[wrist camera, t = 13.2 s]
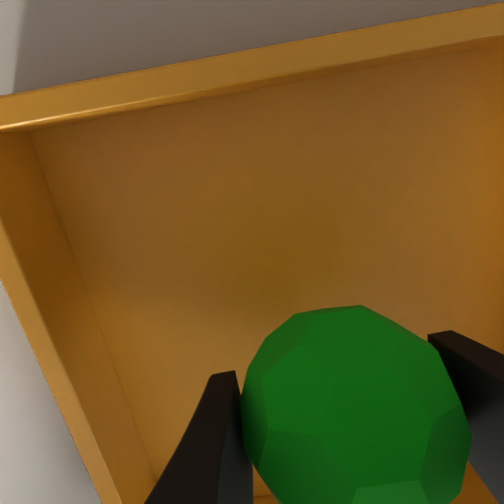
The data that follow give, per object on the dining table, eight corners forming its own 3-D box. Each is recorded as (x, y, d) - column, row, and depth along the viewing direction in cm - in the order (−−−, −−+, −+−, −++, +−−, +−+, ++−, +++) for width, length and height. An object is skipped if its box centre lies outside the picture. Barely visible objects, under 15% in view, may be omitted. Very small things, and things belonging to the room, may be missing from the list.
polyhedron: (336, 238, 10) (430, 341, 5) (435, 349, 11) (575, 505, 7) (202, 352, 11) (184, 521, 6) (309, 442, 12) (358, 632, 8)
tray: (552, 10, 10) (678, -32, 7) (511, 448, 16) (573, 520, 13) (7, 112, 10) (-78, 109, 7) (159, 513, 16) (144, 599, 13)
